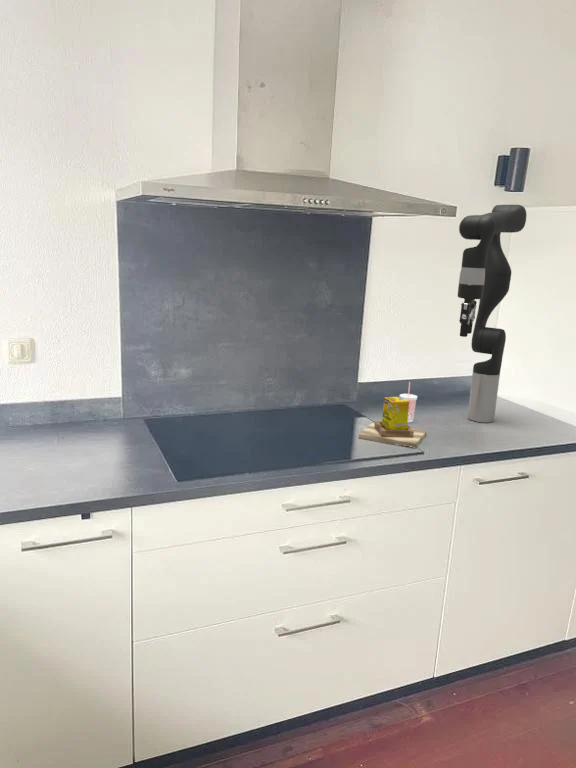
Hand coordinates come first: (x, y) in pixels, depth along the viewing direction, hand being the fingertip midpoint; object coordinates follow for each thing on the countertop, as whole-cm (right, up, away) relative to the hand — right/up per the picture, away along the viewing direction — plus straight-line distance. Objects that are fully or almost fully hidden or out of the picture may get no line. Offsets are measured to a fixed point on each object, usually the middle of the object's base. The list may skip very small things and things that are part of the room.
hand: (465, 334), depth 185 cm
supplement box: (-22, -31, +3) cm, 38 cm away
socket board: (-22, -32, +3) cm, 39 cm away
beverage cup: (-14, -28, +22) cm, 39 cm away
